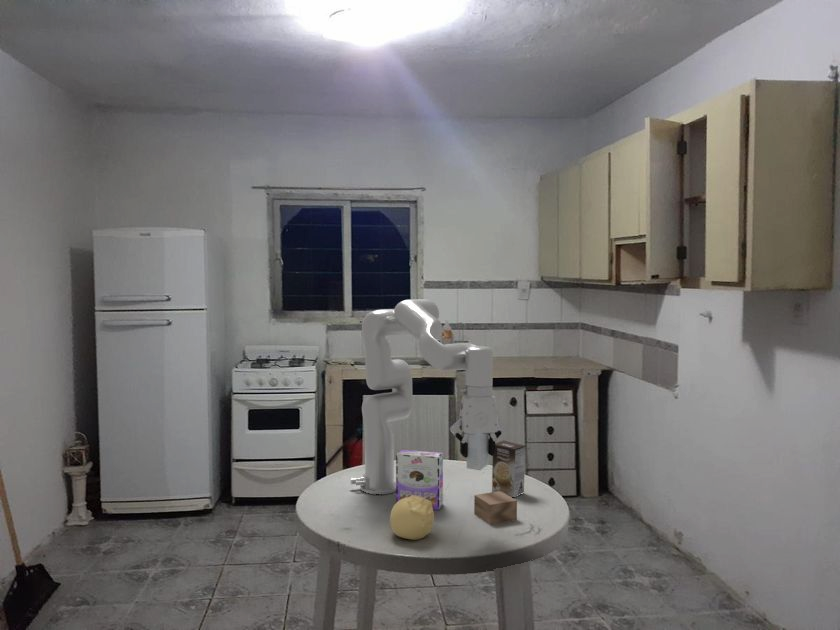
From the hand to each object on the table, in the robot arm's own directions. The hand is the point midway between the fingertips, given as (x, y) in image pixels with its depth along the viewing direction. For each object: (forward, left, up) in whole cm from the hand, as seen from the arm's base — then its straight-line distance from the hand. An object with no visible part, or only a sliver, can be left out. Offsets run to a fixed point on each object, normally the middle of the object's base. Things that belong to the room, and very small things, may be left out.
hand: (477, 454), depth 179 cm
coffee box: (+21, +28, -22) cm, 41 cm away
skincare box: (0, 0, -4) cm, 4 cm away
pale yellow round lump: (-18, +2, -22) cm, 28 cm away
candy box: (-10, +24, -22) cm, 34 cm away
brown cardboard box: (+9, +9, -22) cm, 25 cm away
